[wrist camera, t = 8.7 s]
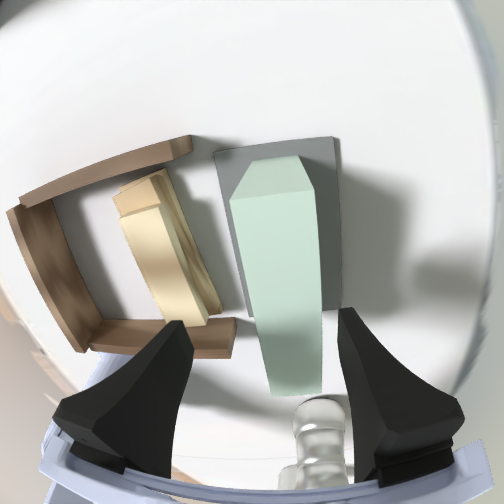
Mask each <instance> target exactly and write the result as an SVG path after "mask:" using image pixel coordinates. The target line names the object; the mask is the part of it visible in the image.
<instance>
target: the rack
mask: <svg viewBox="0 0 504 504" xmlns="http://www.w3.org/2000/svg"><path fill="white" fill-rule="evenodd" d="M192 151H194V150H193V145H192V140H191V136H190V135H186V136H182V137H178V138H174V139H171V140H167V141H163V142H159V143H156V144H152V145H149V146H146V147H142V148H139V149H136V150H133V151H130V152H126V153H123V154H120V155H117V156H115V157H112V158H109V159H106V160H103V161H101V162H98V163H95V164H92V165H90V166H87V167H85V168H82V169H80V170H77V171H75V172H72V173H70V174H68V175H65V176H63V177H61V178H58V179H56V180H54V181H52V182H49V183H47V184H45V185H43V186H41V187H39V188H37V189H35V190H33V191H30V192H28V193H26V194H25V195H23V196H21V197H19V200H20V204H19V205H17V206H15V207H13V208H11V209H10V210H8V211H6V214H7V217H8V220H9V222H10V225H11V228H12V231H13V234H14V236H15V239H16V241H17V244H18V246H19V249H20V251H21V254H22V256H23V258H24V261H25V263H26V265H27V267H28V269H29V271H30V274H31V276H32V278H33V280H34V282H35V284H36V286H37V288H38V290H39V292H40V294H41V296H42V297H43V299H44V301H45V303H46V305H47V307H48V308H49V310H50V312H51V314H52V315H53V317H54V319H55V320H56V322H57V324H58V325H59V327H60V329H61V330H62V332H63V333H64V335H65V336H66V338H67V339H68V341H69V343H70V344H71V345H72V347H73V348H74V350H75V351H76V352H79V353H86V351H87V349H88V348H89V347H90V349H91V350H92V351H96V352H104V353H113V354H123V355H134V356H135V355H136V354H137V353H138V352H139V351H140V350H141V349H143V348H144V347H145V346H146V345H147V344H148V343H149V342H150V341H151V340H152V339H153V338H154V337H155V336H156V335H157V334H158V333H159V331H160V330H161V329H162V328H163V327H164V326H165V325H166V324H167V323H166V321H165V320H115V319H103V318H102V317H101V315H100V313H99V311H98V309H97V307H96V305H95V303H94V301H93V300H92V298H91V296H90V294H89V292H88V289H87V287H86V285H85V283H84V281H83V279H82V277H81V275H80V272H79V270H78V268H77V266H76V263H75V261H74V259H73V256H72V254H71V252H70V249H69V247H68V244H67V242H66V239H65V237H64V234H63V231H62V229H61V226H60V223H59V220H58V217H57V214H56V212H55V208H54V205H53V202H52V199H51V198H53V197H55V196H58V195H61V194H63V193H66V192H68V191H71V190H74V189H77V188H79V187H82V186H85V185H88V184H91V183H94V182H97V181H100V180H103V179H106V178H109V177H112V176H116V175H119V174H122V173H126V172H129V171H132V170H136V169H140V168H143V167H147V166H151V165H154V164H158V163H162V162H166V161H170V160H174V159H176V158H178V157H181V156H183V155H185V154H187V153H189V152H192ZM185 328H186V330H187V333H188V335H189V337H190V340H191V342H192V344H193V347H194V349H195V350H194V357H193V359H231V355H232V350H233V345H234V340H235V335H236V330H237V325H236V321H235V318H234V317H231V318H210V319H208V320H207V324H206V325H203V326H192V327H185Z"/></svg>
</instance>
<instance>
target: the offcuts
mask: <svg viewBox="0 0 504 504" xmlns="http://www.w3.org/2000/svg"><path fill="white" fill-rule="evenodd" d="M119 190H120V192H121V193H119V194H118V195H116V196H114V197H113V198H112V199H113V201H114V203H115V205H116V207H117V209H118V211H119V213H120V215H121V217H120V218H119V219H118V220H119V222H120V225H121V227H122V230H123V232H124V235H125V237H126V240H127V242H128V244H129V247H130V249H131V251H132V253H133V256H134V258H135V260H136V262H137V265H138V267H139V269H140V271H141V273H142V275H143V278H144V280H145V282H146V284H147V286H148V288H149V290H150V292H151V294H152V296H153V298H154V300H155V302H156V304H157V306H158V308H159V310H160V312H161V314H162V316H163V317H164V319H165V321H166V323H167V324H168V323H169V322H170V321H171V320H183V323H184V325H185V327H192V326H203V325H206V324H207V320H208V317H209V316H210V315H216V314H222V310H223V306H222V304H221V302H220V300H219V297H218V295H217V293H216V291H215V288H214V286H213V284H212V281H211V279H210V277H209V275H208V272H207V270H206V268H205V265H204V263H203V261H202V258H201V256H200V254H199V251H198V249H197V246H196V244H195V242H194V239H193V237H192V234H191V232H190V229H189V227H188V224H187V222H186V219H185V217H184V214H183V212H182V209H181V207H180V204H179V202H178V199H177V196H176V194H175V191H174V189H173V186H172V183H171V181H170V178H169V175H168V173H167V170H166V167H165V168H163V169H160V170H158V171H155V172H153V173H150V174H148V175H146V176H143V177H141V178H138V179H136V180H134V181H131V182H129V183H127V184H125V185H123V186H121V187H119Z"/></svg>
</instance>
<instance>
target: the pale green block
mask: <svg viewBox="0 0 504 504" xmlns="http://www.w3.org/2000/svg"><path fill="white" fill-rule="evenodd" d="M229 202H230V207H231V212H232V216H233V221H234V226H235V231H236V236H237V240H238V245H239V250H240V254H241V259H242V264H243V269H244V273H245V278H246V283H247V287H248V292H249V296H250V301H251V306H252V310H253V315H254V319H255V324H256V328H257V333H258V337H259V342H260V346H261V351H262V355H263V360H264V364H265V369H266V373H267V377H268V382H269V386H270V390H271V395H272V397H276V396H294V395H307V394H318V393H322V298H321V273H320V255H319V240H318V226H317V214H316V203H315V193H314V188H313V186H312V184H311V182H310V180H309V178H308V176H307V173H306V171H305V169H304V167H303V165H302V163H301V161H300V159H299V157H298V155H295V156H286V157H278V158H270V159H263V160H256V161H252V163H251V164H250V166H249V168H248V169H247V171H246V173H245V174H244V176H243V178H242V179H241V181H240V183H239V185H238V186H237V188H236V190H235V191H234V193H233V195H232V197H231V198H230V200H229Z"/></svg>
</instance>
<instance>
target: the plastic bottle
mask: <svg viewBox="0 0 504 504" xmlns="http://www.w3.org/2000/svg"><path fill="white" fill-rule="evenodd" d="M292 426H293V432H294V436H295V439H296V449H297V459H298V463H297V468H298V470H297V476H296V485H295V490H301V489H315V488H326V487H335V486H342V485H349V482H348V478H347V472H346V466H345V458H344V432H345V414H344V411H343V408H342V406H341V405H340V404H338V403H337V402H336V401H334V400H331V399H313V400H309V401H306V402H304V403H302V404H301V405H300V406H299V407H298V408H297V409H296V410H295V412H294V415H293V420H292Z"/></svg>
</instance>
